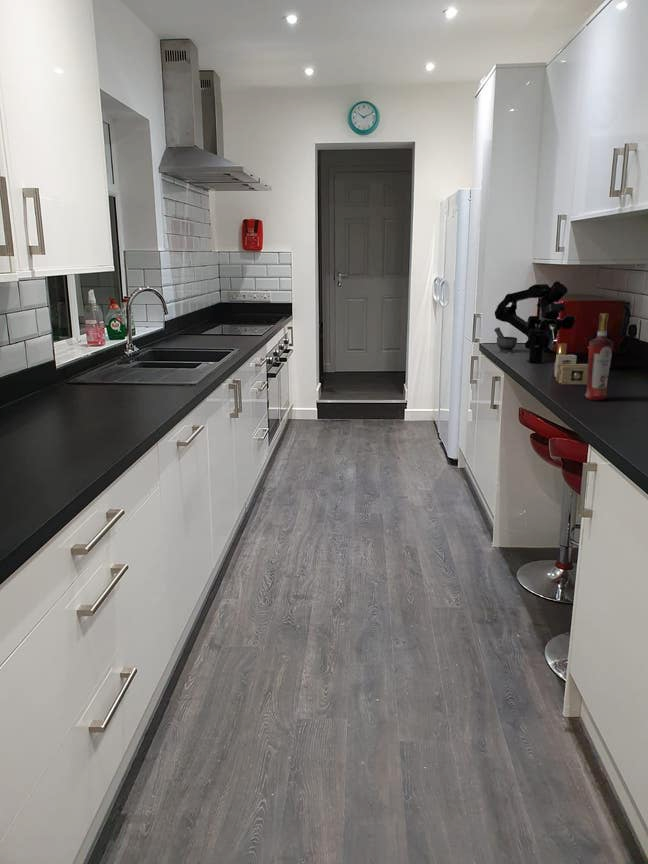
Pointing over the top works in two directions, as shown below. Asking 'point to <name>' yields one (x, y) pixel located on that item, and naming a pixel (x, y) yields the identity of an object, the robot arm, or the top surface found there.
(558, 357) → the spacer
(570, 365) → the bearing block
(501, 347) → the mortar and pestle
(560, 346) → the shaft
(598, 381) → the liquor
